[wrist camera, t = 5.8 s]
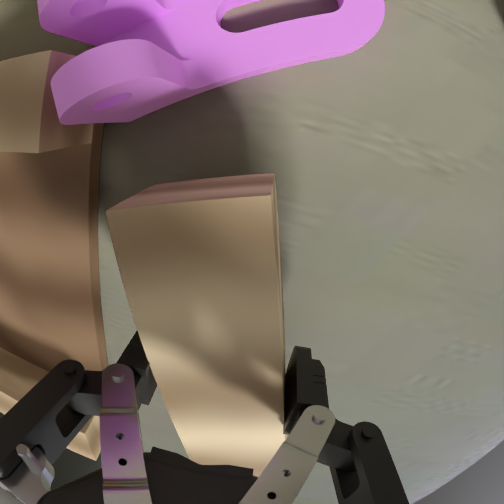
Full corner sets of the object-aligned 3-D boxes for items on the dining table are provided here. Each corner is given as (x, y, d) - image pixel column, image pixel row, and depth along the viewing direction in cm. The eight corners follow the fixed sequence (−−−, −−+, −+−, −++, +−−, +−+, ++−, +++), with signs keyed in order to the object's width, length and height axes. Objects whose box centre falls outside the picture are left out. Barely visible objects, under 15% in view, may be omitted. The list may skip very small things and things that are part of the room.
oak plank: (153, 184, 13) (105, 210, 9) (274, 172, 12) (271, 195, 8) (209, 423, 18) (197, 473, 15) (287, 425, 18) (286, 478, 14)
